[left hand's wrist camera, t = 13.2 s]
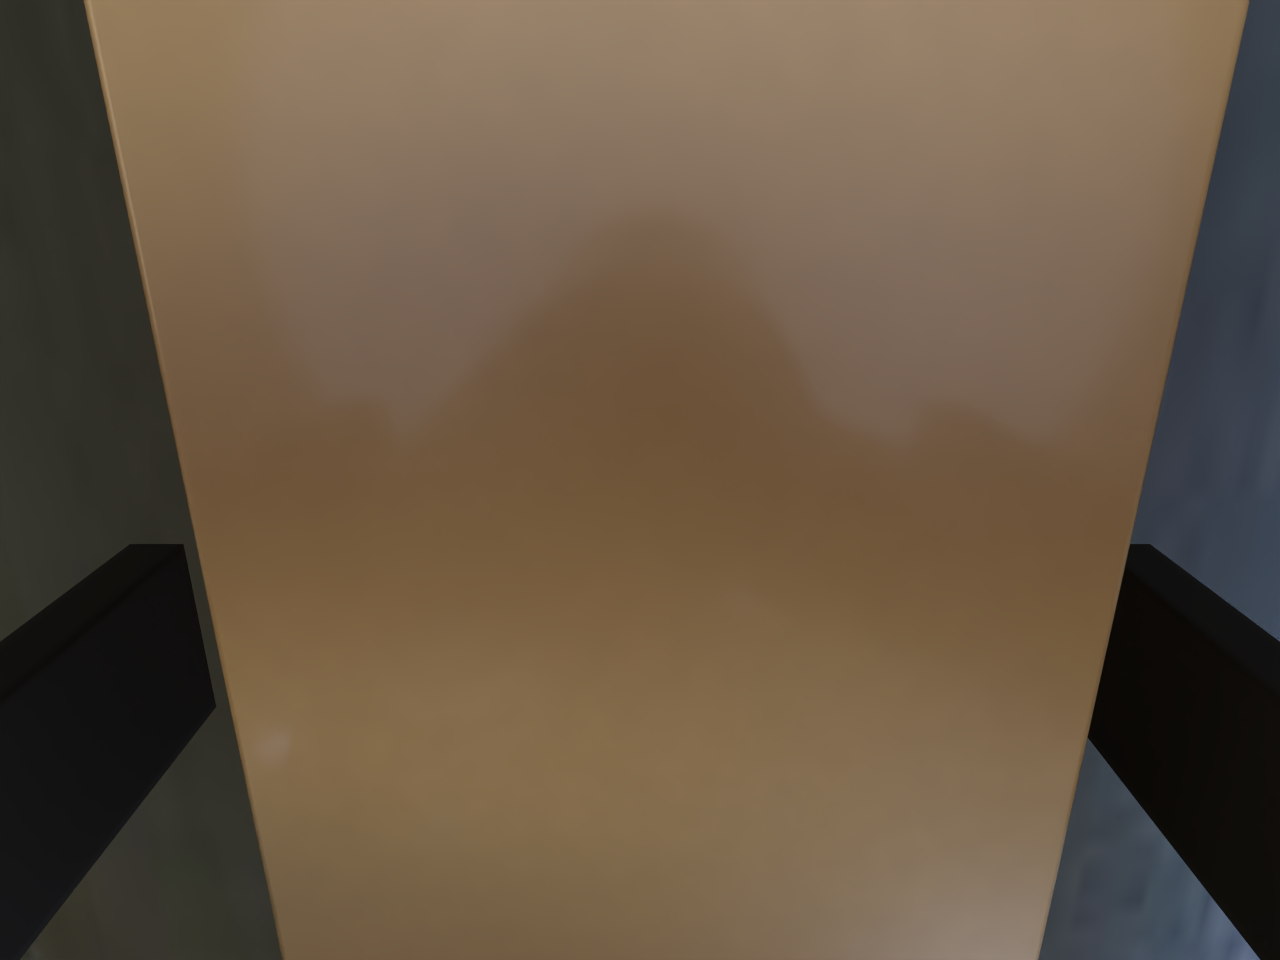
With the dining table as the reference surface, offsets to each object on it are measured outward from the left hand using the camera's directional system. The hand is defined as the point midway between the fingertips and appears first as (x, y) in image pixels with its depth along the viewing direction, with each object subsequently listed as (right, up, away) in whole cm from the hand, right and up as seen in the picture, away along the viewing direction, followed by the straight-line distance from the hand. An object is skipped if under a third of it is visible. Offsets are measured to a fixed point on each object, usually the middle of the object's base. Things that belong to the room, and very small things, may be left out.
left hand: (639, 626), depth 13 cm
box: (0, +12, +2) cm, 12 cm away
